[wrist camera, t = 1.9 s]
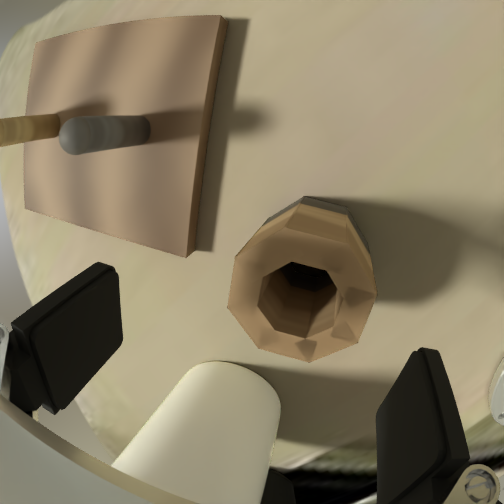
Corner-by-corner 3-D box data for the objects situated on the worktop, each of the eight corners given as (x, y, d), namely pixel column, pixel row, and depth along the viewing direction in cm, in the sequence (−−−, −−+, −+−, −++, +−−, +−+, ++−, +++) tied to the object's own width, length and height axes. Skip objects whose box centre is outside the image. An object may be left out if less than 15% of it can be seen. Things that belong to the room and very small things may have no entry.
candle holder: (259, 339, 21) (186, 494, 10) (308, 428, 23) (276, 558, 12) (155, 361, 25) (71, 465, 14) (211, 437, 27) (160, 536, 16)
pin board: (228, 21, 14) (165, -28, 8) (194, 250, 20) (129, 306, 13) (46, 43, 17) (-23, 39, 11) (34, 205, 23) (-29, 230, 16)
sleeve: (375, 214, 16) (391, 255, 11) (347, 304, 18) (345, 371, 13) (273, 188, 17) (240, 215, 12) (256, 280, 19) (222, 337, 14)
